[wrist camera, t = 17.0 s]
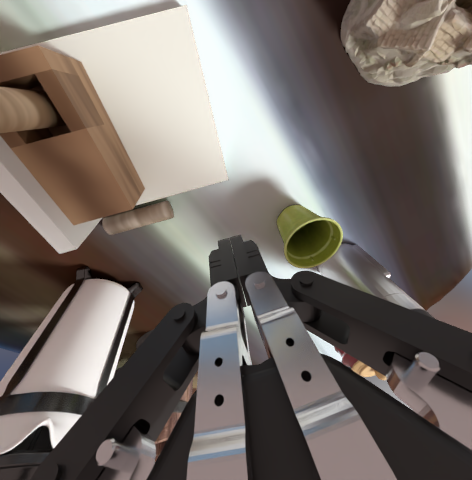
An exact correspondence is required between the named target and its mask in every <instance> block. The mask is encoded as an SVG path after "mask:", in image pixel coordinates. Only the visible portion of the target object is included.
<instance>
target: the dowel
mask: <svg viewBox="0 0 472 480" xmlns="http://www.w3.org/2000/svg"><path fill="white" fill-rule="evenodd" d="M59 126H67V125H66V123H65V122H64V120H63V119H62V117H61V115H60V114H59V112H58V111H57V109H56V107H55V106H54V104H53V103H52V101H51V99H50V98H49V96H48V94H47V93H46V92H40V91H32V90H24V89H16V88H7V87H0V133H7V132H16V131H24V130H33V129H42V128H50V127H59Z"/></svg>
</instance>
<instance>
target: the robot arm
mask: <svg viewBox="0 0 472 480" xmlns="http://www.w3.org/2000/svg"><path fill="white" fill-rule="evenodd" d="M230 241H231V244H230ZM231 245H232V247H231ZM218 246H219V249H217V250H213V251H211V253H210V255H209V266H210V281H211V288H210V289H209V291H208V294H207V297H206V298H205V299H204V300H203V301H201V302H199V303H198V304H196V305H194V306H192V305H190V304H188V303H181V304H178V305H176V306H175V307H173V308H172V309H171V310H170V311H169V312H168V313H167V314H166V316H165V317H164V318H163V319H162V320H161V322H160V323H159V324H158V325H157V326H156V328H155V329H154V330H153V331H152V332H151V334H150V335H149V336H148V337H147V338H146V339H145V341H144V342H143V343H142V344H141V345H140V347H139V348H138V349H137V350H136V351H135V353H134V354H133V355H132V356H131V357H130V358H129V360H128V361H127V362H126V363H125V364H124V366H123V367H122V368H121V369H120V370H119V372H118V373H117V374H116V375H115V376H114V378H113V379H112V380H111V381H110V382H109V383H108V385H107V386H106V387H105V388H104V389H103V391H102V392H101V393H100V394H99V395H98V397H97V398H96V399H95V400H94V401H93V403H92V404H91V405H90V406H89V407H88V408H87V410H86V411H85V412H84V413H83V414H82V416H81V417H80V418H79V419H78V420H77V422H76V423H75V424H74V425H73V426H72V427H71V429H70V430H69V431H68V432H67V433H66V435H65V436H64V437H63V438H62V439H61V441H60V442H59V443H58V444H57V445H56V447H55V448H54V449H53V450H52V451H51V452H50V454H49V455H48V456H47V457H46V458H45V460H44V461H43V462H42V463H41V464H40V466H39V467H38V468H37V470H36V471H35V473H34V474H33V476H32V478H31V479H30V480H472V333H470V332H468V331H465V330H462V329H460V328H457V327H455V326H452V325H449V324H447V323H444V322H441V321H439V320H436V319H435V318H434V317H432V316H431V315H430V314H429V313H428V312H427V311H425V310H424V309H423V308H422V307H421V306H420V305H419V304H418V303H417V302H415V301H414V300H413V299H412V298H411V297H410V296H409V295H407V294H406V293H405V292H404V291H403V290H402V289H401V288H400V287H398V286H397V285H396V284H395V283H394V282H393V281H392V280H391V279H389V278H390V275H391V274H390V272H389V271H387V270H386V269H385V268H384V267H383V266H382V265H380V264H379V263H378V262H377V261H376V260H375V259H373V258H372V257H371V256H370V255H369V254H368V253H366V252H365V251H364V250H363V249H362V248H361V247H359V246H358V245H357V244H356V245H350V244H346V243H343V244H341V245H340V247H339V248H338V250H337V251H336V253H335V254H334V255H333V256H332V257H331V258H330V259H328V260H327V261H325V262H324V263H322V264H320V265H318V270H319V271H320V273H321V274H322V275H319V274H316V273H314V272H311V271H300V272H297V273H296V274H294V275H293V276H292V278H291V279H278V278H275V277H273V276H271V275H270V274H269V273H268V271H267V268H266V266H265V264H264V261H263V259H262V257H261V255H260V252H259V250H258V247H257V245H256V244H255V243H254V242H253V241H251V240H250V241H246V242H243V240H242V237H241V235H238V236H234V237H231V238H230V240H229V238H227V239H223V240H220V241H218ZM232 249H233V251H232ZM233 253H234V254H233ZM234 257H235V258H234ZM241 285H242V286H241ZM242 288H243V290H242ZM243 292H244V294H243ZM244 295H245V298H246V302H247V305H248V306H250V305H251V307H252V311H253V314H254V318H255V321H256V324H257V326H258V329H259V332H260V335H261V338H262V340H263V343H264V346H265V349H266V352H267V355H268V358H269V359H268V360H266V361H264V362H263V363H261V364H259V365H252V363H251V359H250V353H249V346H248V339H247V331H246V324H245V319H244V317H245V316H244V311H243V307H247V306H246V302H245V298H244ZM307 330H308V331H309V332H311V333H313V334H315V335H316V336H318V337H320V338H321V339H323V340H325V341H326V342H328V343H330V344H332V345H333V346H335V347H337V348H338V349H340V350H342V351H343V352H345V353H347V354H348V355H350V356H352V357H354V358H355V359H357V360H359V361H360V362H362V363H364V364H365V365H367V366H369V367H371V368H372V369H374V370H376V371H377V372H379V373H381V374H382V375H384V376H386V378H387V382H388V384H389V386H390V388H391V390H392V391H393V393H394V394H395V395H396V396H397V397H398V398H399V399H400V400H402V401H403V402H404V403H406V404H407V405H408V406H409V407H410V408H411V409H413V410H411V409H410V408H408V407H406V406H405V405H404V404H402V403H401V402H399V401H397V400H396V399H394V398H393V397H391V396H390V395H389V394H387V393H385V392H384V391H383V390H381V389H380V388H378V387H377V386H375V385H374V384H372V383H371V382H369V381H368V380H366V379H365V378H363V377H362V376H360V375H359V374H357V373H356V372H354V371H353V370H351V369H350V368H348V367H347V366H345V365H344V364H342V363H341V362H339V361H337V360H335V359H334V358H332V357H329V356H327V355H324V354H320V353H319V351H318V349H317V348H316V346H315V344H314V342H313V341H312V339H311V337H310V335H309V334H308V332H307ZM197 370H198V382H197V390H196V391H195V393H194V394H193V395H192V396H191V398H190V399H189V401H188V402H187V404H186V406H185V408H184V409H183V411H182V413H181V415H180V417H179V419H178V421H177V423H176V425H175V426H174V428H173V430H172V432H171V434H170V436H169V438H168V440H167V442H166V443H165V445H164V447H163V449H162V451H161V453H160V455H159V457H158V459H157V461H156V462H155V456H156V447H155V441H156V440H157V438H158V436H159V435H160V433H161V431H162V430H163V428H164V426H165V424H166V423H167V421H168V419H169V418H170V416H171V414H172V413H173V411H174V409H175V407H176V406H177V404H178V402H179V401H180V399H181V397H182V396H183V394H184V392H185V391H186V389H187V387H188V385H189V384H190V382H191V380H192V379H193V377H194V375H195V374H196V372H197ZM154 463H155V464H154Z"/></svg>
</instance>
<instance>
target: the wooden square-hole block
mask: <svg viewBox="0 0 472 480" xmlns="http://www.w3.org/2000/svg"><path fill="white" fill-rule="evenodd" d="M0 87H7V88H16V89H24V90H32V91H40V92H46V93H47V94H48V96H49V98H50V99H51V101H52V103H53V104H54V106H55V107H56V109H57V111H58V112H59V114H60V115H61V117H62V119H63V120H64V122H65V123H66V125H67V126H59V127H50V128H42V129H33V130H24V131H16V132H7V133H0V136H1V137H2V138H3V140H4V141H5V142H6V143H7V145H8V146H9V147H10V148H11V149H12V151H13V152H14V153H15V154H16V156H17V157H18V158H19V159H20V160H21V162H22V163H23V164H24V165H25V167H26V168H27V169H28V170H29V172H30V173H31V174H32V175H33V176H34V178H35V179H36V180H37V181H38V183H39V184H40V185H41V186H42V187H43V189H44V190H45V191H46V192H47V194H48V195H49V196H50V197H51V198H52V200H53V201H54V202H55V203H56V205H57V206H58V207H59V208H60V209H61V211H62V212H63V213H64V214H65V216H66V217H67V218H68V219H69V220H70V222H71V223H72V224H73V225H77V224H81V223H85V222H88V221H92V220H96V219H99V218H103V217H106V216H110V215H114V214H117V213H121V212H125V211H128V210H132V209H133V208H134V207H135V205H136V203H137V202H138V200H139V198H140V196H141V195H142V193H143V191H144V190H145V187H144V185H143V183H142V181H141V179H140V177H139V175H138V173H137V171H136V169H135V167H134V165H133V163H132V161H131V159H130V157H129V156H128V154H127V152H126V150H125V148H124V146H123V144H122V142H121V140H120V138H119V136H118V134H117V132H116V130H115V128H114V126H113V124H112V122H111V120H110V118H109V116H108V114H107V112H106V110H105V108H104V106H103V104H102V102H101V100H100V98H99V96H98V94H97V92H96V90H95V88H94V86H93V84H92V82H91V80H90V78H89V76H88V74H87V72H86V70H85V68H84V66H83V64H82V62H80V61H78V60H75V59H73V58H70V57H67V56H65V55H62V54H60V53H57V52H54V51H52V50H49V49H47V48H44V47H41V46H39V45H37V46H33V47H29V48H25V49H21V50H17V51H13V52H9V53H5V54H2V55H0Z"/></svg>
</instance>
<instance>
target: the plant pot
mask: <svg viewBox="0 0 472 480" xmlns="http://www.w3.org/2000/svg"><path fill="white" fill-rule="evenodd" d="M277 226H278V229H279V232H280V234H281V237H282V239H283V242H284V255H285V257H286V259H287V261H288V262H289V263H290V264H291V265H293V266H295V267H298V268H311V267H315V266H318V265H320V264H322V263H324V262H325V261H327V260H328V259H330V258H331V257H332V256H333V255H334V254H335V253H336V251H337V250H338V248H339V247H340V245H341V242H342V238H343V232H342V228H341V227H340V225H339V224H338V223H337V222H336V221H334V220H332V219H330V218H325V217H320V216H318V215H316V214H315V213H313V212H311V211H310V210H308V209H306V208H305V207H303V206H300V205H292V206H289V207H287V208H285V209H284V210H283V211H282V213H281V214H280V215H279V217H278V219H277Z"/></svg>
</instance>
